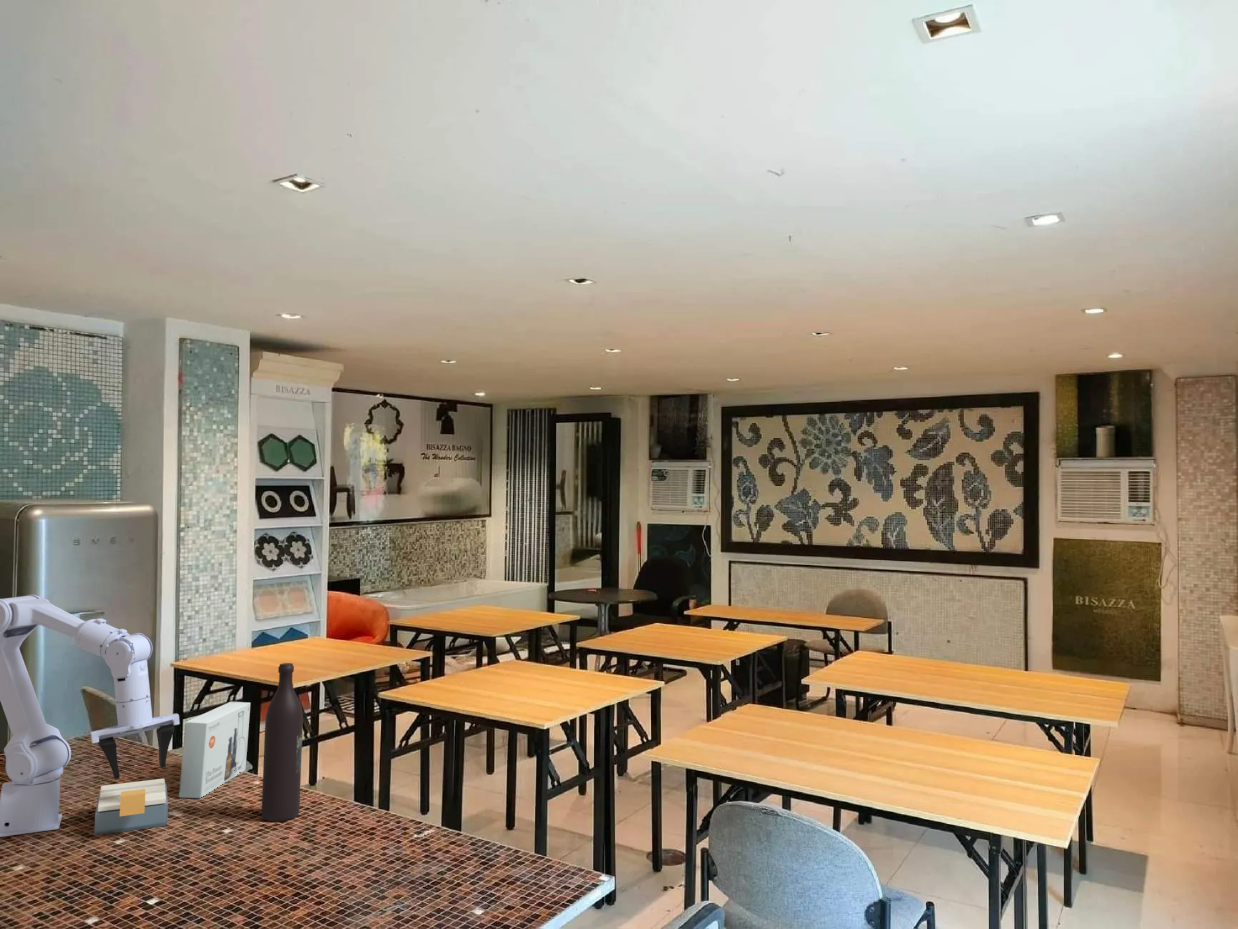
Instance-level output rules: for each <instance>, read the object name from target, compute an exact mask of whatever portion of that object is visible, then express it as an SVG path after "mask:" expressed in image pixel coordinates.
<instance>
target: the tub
mask: <svg viewBox="0 0 1238 929" xmlns="http://www.w3.org/2000/svg"><path fill="white" fill-rule="evenodd" d="M167 788H168V787H167V783H165V793H166V803H162V804H154V805H146V806H145V811H144V813H142V814H134V815H127V816H120V809H115V810H108V811H100V812H98V805H99V797H100V791H98V795H97V801H96V806H95V807H96V808H95V813H94V829H93V830H94V834H93V835H94V837H95V836H101V835H109V834H115V833H116V834H117V833H123V832H130V831H137V830H144V829H152V828H159V827H165V826H166V825H167V826H168V812H169V811H168V810H169V801H168V800H169V799H168V790H167Z"/></svg>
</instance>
